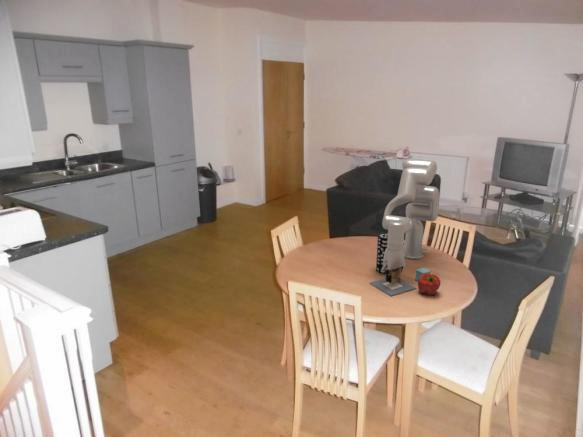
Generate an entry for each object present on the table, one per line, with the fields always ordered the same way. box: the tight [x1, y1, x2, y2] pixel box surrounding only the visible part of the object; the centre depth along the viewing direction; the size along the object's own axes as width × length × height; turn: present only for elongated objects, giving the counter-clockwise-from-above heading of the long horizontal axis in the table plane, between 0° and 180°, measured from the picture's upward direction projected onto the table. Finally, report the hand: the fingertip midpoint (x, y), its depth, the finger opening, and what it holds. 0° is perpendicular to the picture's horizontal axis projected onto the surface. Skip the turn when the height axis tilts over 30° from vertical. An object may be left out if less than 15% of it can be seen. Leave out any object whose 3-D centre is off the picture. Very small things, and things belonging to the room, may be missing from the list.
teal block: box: [414, 267, 432, 282], centre depth 215 cm, size 5×5×6 cm
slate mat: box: [369, 277, 417, 297], centre depth 210 cm, size 16×16×1 cm
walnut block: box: [388, 269, 402, 284], centre depth 209 cm, size 5×5×6 cm
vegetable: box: [417, 273, 442, 296], centre depth 201 cm, size 11×10×10 cm
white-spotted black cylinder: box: [375, 232, 388, 275], centre depth 225 cm, size 8×8×20 cm
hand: (392, 280), depth 209 cm, fingers closed on walnut block, 4 cm apart
